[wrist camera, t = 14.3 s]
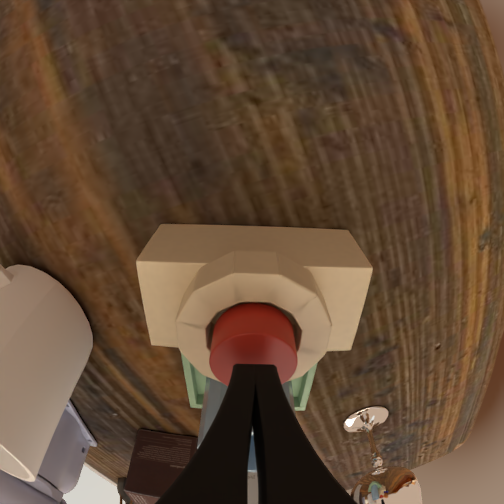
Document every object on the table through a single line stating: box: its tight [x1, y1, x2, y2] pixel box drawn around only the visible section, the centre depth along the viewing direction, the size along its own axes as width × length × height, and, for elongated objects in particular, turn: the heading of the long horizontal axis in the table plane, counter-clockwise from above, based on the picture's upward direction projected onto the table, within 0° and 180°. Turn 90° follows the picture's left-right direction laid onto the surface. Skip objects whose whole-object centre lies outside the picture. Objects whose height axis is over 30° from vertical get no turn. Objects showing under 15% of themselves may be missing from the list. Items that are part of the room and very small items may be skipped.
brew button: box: [209, 303, 298, 386], centre depth 12 cm, size 3×3×2 cm
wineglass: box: [343, 406, 422, 504], centre depth 19 cm, size 6×6×12 cm
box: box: [124, 429, 198, 504], centre depth 24 cm, size 6×6×7 cm
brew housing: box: [136, 224, 373, 383], centre depth 15 cm, size 6×10×6 cm, turn 88°
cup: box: [197, 377, 296, 472], centre depth 17 cm, size 5×5×7 cm
